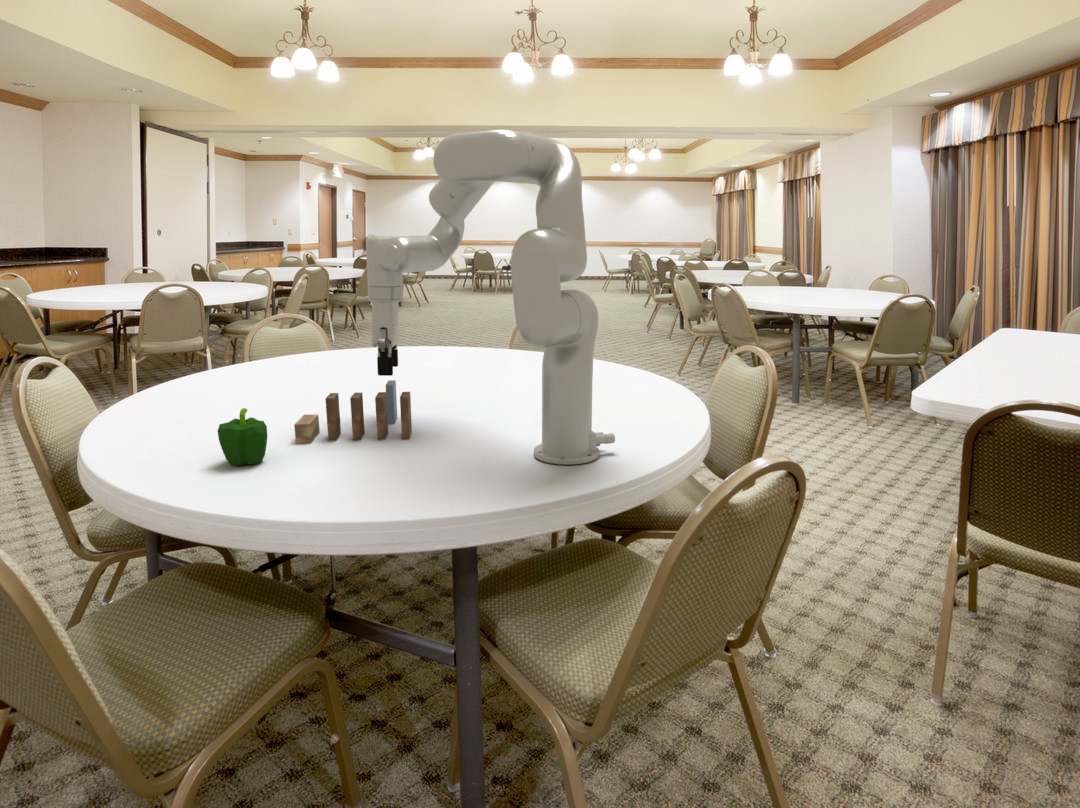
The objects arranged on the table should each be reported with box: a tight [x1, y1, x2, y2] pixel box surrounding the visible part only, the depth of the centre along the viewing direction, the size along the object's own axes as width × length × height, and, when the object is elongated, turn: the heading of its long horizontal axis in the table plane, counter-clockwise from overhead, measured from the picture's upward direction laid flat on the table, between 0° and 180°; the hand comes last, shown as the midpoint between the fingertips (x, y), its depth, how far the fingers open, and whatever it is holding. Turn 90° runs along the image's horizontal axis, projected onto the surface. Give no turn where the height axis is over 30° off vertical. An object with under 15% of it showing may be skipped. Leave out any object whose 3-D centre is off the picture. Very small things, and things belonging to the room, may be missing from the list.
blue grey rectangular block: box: [385, 379, 398, 425], centre depth 161 cm, size 2×5×9 cm, turn 4°
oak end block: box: [294, 413, 321, 444], centre depth 148 cm, size 3×8×4 cm, turn 4°
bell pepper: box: [217, 407, 268, 467], centre depth 131 cm, size 8×8×10 cm
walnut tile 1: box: [399, 391, 413, 440], centre depth 149 cm, size 2×5×9 cm, turn 4°
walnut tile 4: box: [324, 392, 342, 442], centre depth 148 cm, size 2×5×9 cm, turn 4°
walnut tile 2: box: [374, 391, 389, 441], centre depth 149 cm, size 2×5×9 cm, turn 4°
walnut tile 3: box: [349, 392, 366, 441], centre depth 148 cm, size 2×5×9 cm, turn 5°
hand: (388, 370), depth 159 cm, fingers open, 9 cm apart
